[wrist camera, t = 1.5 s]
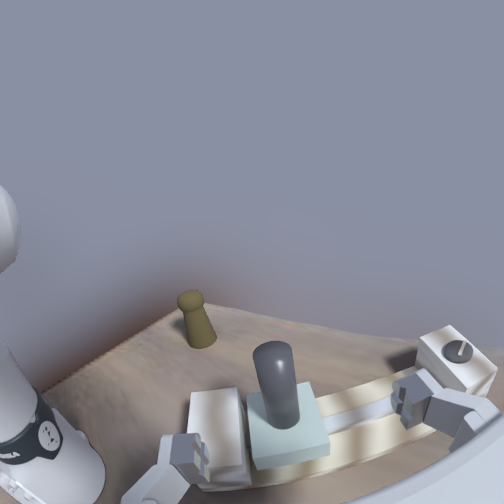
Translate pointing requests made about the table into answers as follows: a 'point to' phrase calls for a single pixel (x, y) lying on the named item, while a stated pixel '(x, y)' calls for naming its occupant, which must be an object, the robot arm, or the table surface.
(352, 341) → the table surface
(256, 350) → the carriage
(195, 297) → the olive brown pepper mill
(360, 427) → the rail track
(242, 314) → the table surface
